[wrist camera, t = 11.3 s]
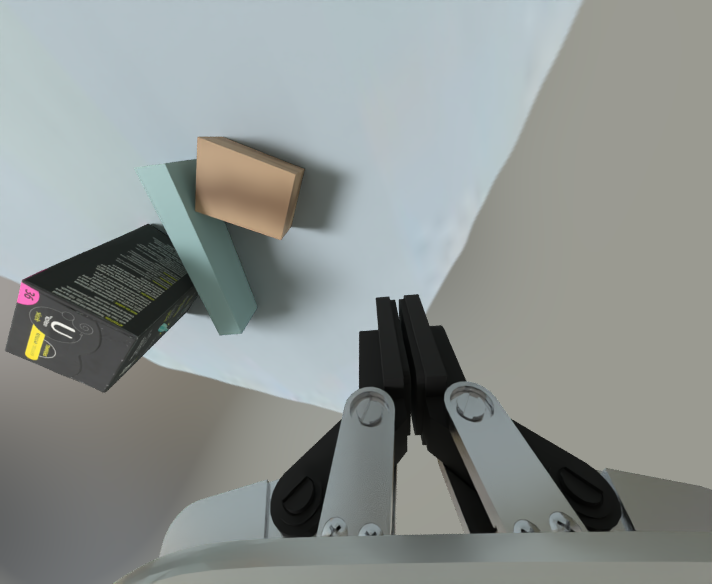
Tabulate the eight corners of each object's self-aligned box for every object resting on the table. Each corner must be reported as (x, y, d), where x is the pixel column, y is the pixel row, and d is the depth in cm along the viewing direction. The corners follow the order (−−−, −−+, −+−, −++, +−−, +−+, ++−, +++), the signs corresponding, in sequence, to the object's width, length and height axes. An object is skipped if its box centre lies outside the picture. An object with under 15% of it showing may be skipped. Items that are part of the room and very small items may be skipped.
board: (174, 162, 28) (133, 167, 23) (200, 158, 28) (164, 163, 23) (238, 309, 39) (219, 335, 34) (257, 307, 39) (241, 333, 33)
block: (223, 136, 27) (197, 136, 23) (305, 168, 29) (295, 174, 25) (217, 200, 31) (194, 211, 27) (291, 226, 32) (280, 240, 28)
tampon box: (149, 221, 32) (14, 275, 20) (217, 266, 35) (138, 338, 23) (122, 278, 36) (-3, 353, 24) (185, 314, 40) (103, 396, 27)
